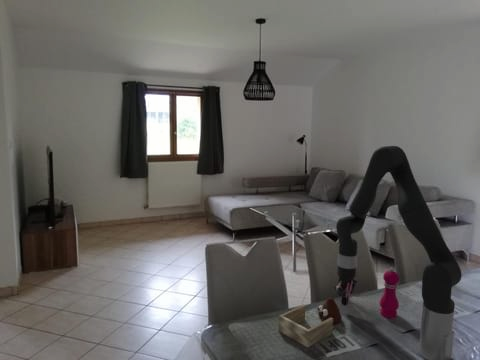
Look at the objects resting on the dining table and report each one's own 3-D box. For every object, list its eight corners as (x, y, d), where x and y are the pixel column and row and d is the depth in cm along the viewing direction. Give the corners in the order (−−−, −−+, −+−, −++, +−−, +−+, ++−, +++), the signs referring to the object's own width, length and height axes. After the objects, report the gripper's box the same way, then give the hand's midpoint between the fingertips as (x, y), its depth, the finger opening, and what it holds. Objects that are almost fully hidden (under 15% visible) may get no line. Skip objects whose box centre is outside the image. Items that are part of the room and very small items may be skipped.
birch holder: (332, 333, 145) (333, 318, 144) (307, 347, 136) (308, 331, 135) (302, 318, 156) (303, 304, 155) (278, 330, 147) (278, 315, 146)
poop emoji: (345, 323, 152) (347, 301, 151) (326, 327, 150) (327, 304, 148) (332, 311, 162) (333, 290, 160) (313, 314, 159) (314, 292, 158)
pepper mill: (399, 319, 156) (403, 272, 152) (380, 317, 157) (383, 270, 154) (396, 311, 163) (399, 265, 159) (377, 309, 164) (381, 263, 161)
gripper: (345, 271, 152) (342, 313, 154) (364, 263, 160) (361, 303, 163) (329, 265, 157) (327, 306, 160) (348, 258, 166) (346, 296, 169)
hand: (344, 304), depth 161 cm, fingers closed
